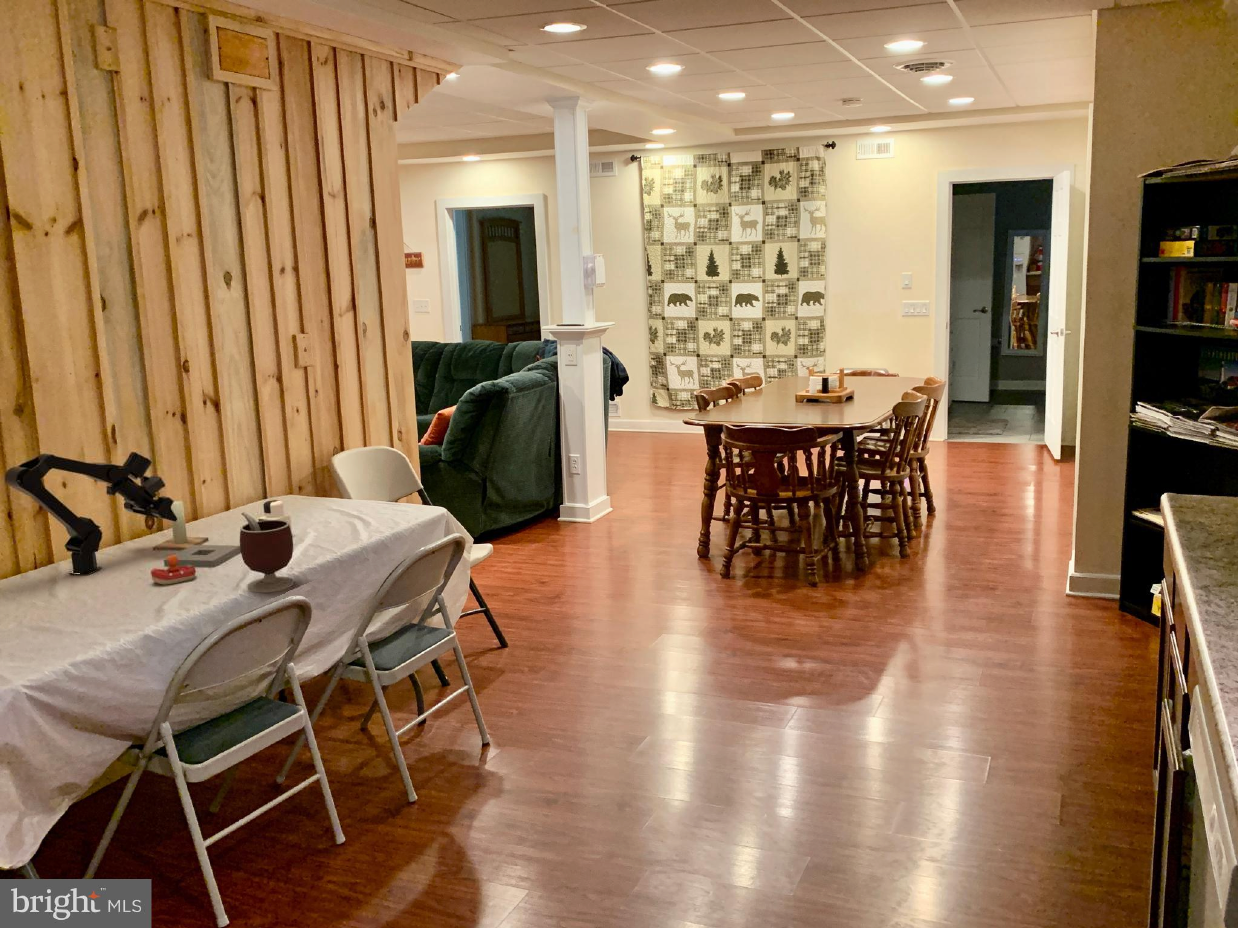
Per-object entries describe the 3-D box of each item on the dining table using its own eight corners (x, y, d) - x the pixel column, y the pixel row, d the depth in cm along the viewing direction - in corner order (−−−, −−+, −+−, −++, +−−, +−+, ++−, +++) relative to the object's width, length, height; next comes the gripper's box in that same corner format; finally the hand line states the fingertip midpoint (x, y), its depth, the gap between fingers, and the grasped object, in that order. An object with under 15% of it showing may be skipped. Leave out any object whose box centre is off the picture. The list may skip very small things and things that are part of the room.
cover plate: (214, 567, 316) (213, 560, 315) (164, 566, 318) (163, 559, 318) (241, 551, 331) (240, 545, 331) (193, 550, 334) (193, 544, 333)
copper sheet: (187, 550, 334) (187, 547, 334) (152, 550, 336) (152, 547, 336) (208, 540, 346) (208, 537, 346) (174, 539, 348) (174, 536, 348)
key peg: (188, 542, 340) (183, 502, 337) (174, 544, 338) (170, 504, 335) (186, 539, 343) (181, 500, 341) (173, 541, 342) (168, 502, 339)
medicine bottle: (260, 539, 346) (256, 502, 343) (276, 533, 352) (273, 498, 349) (276, 541, 342) (272, 504, 340) (292, 535, 349) (289, 499, 346)
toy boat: (149, 582, 303) (146, 556, 302) (191, 573, 310) (188, 548, 309) (156, 588, 298) (153, 562, 296) (199, 579, 304) (196, 554, 303)
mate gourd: (307, 581, 299) (301, 512, 295) (268, 596, 287) (261, 523, 283) (268, 574, 307) (262, 506, 303) (229, 588, 295) (221, 518, 291)
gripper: (164, 472, 324) (200, 500, 335) (128, 466, 334) (164, 494, 345) (143, 502, 319) (180, 530, 330) (107, 496, 329) (144, 523, 340)
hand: (167, 518), depth 336 cm, fingers open, 9 cm apart
